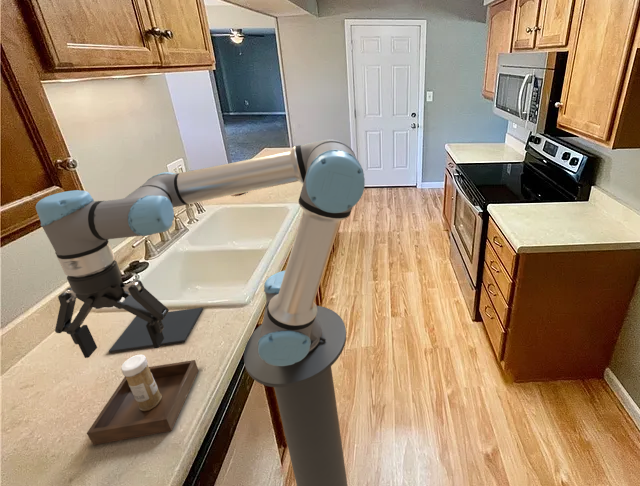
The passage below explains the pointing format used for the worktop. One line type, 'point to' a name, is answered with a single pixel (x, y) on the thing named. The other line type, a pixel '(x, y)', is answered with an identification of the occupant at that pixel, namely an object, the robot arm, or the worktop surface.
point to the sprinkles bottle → (141, 382)
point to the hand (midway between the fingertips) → (126, 348)
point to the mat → (173, 331)
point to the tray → (131, 422)
